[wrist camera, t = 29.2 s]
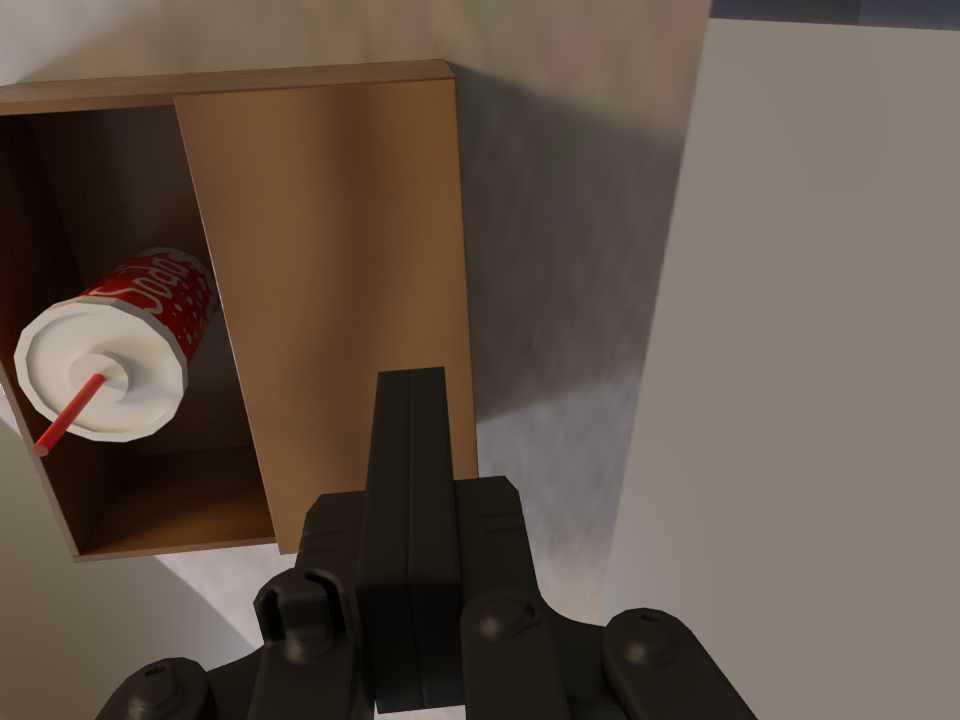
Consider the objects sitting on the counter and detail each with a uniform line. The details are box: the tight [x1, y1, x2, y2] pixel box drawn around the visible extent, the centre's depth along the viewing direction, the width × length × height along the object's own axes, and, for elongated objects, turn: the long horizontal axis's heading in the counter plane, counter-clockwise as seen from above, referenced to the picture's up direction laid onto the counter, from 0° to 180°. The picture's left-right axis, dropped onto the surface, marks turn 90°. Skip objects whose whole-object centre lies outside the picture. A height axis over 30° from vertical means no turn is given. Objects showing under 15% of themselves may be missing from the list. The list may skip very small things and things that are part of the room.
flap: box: [173, 79, 478, 555], centre depth 28 cm, size 9×20×1 cm, turn 3°
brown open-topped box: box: [0, 59, 479, 563], centre depth 32 cm, size 19×20×8 cm
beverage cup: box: [14, 247, 217, 456], centre depth 29 cm, size 6×6×14 cm
